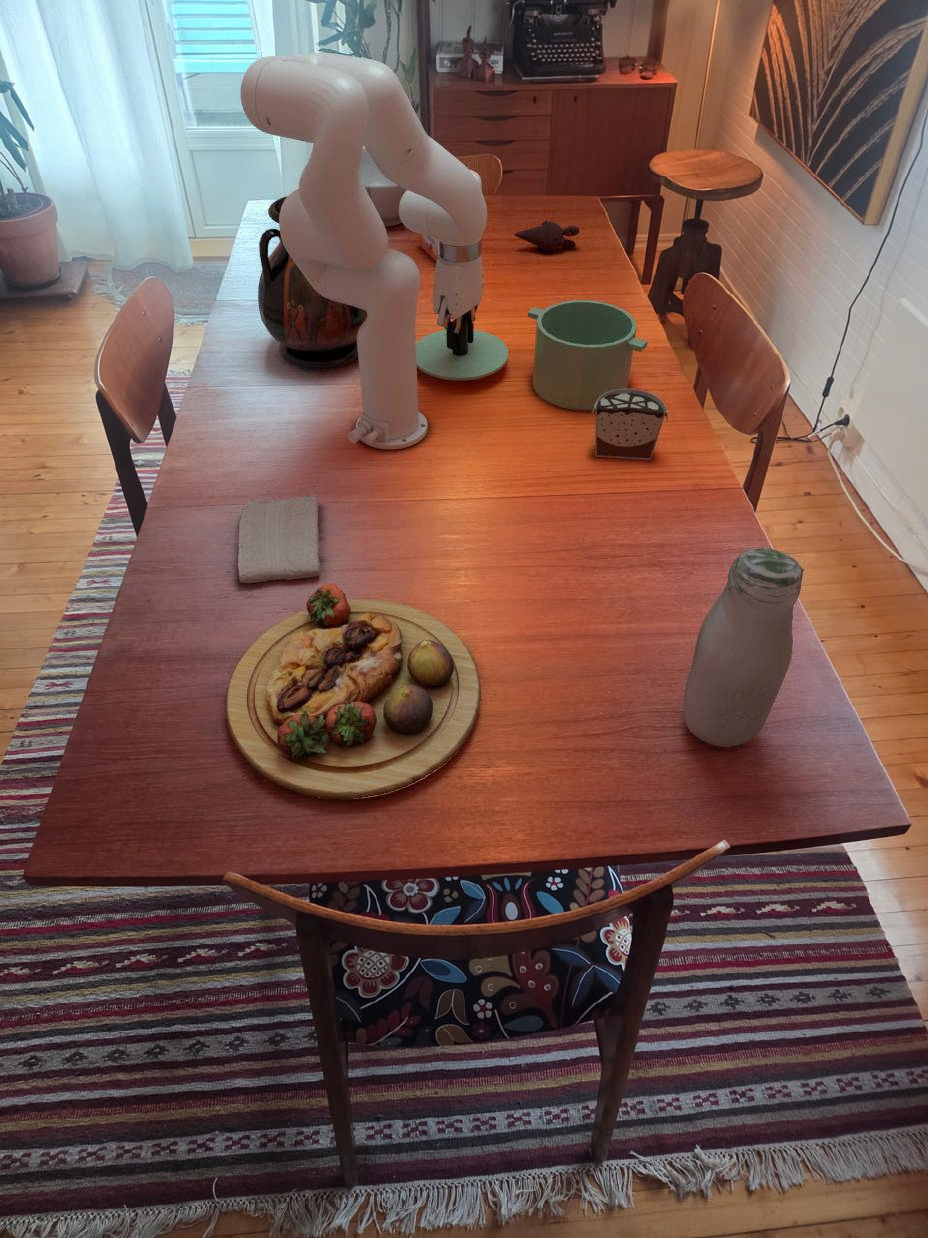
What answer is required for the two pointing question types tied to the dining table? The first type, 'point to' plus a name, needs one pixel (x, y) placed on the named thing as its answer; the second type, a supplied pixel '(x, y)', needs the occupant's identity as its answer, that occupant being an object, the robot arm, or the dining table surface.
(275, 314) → the amphora vase
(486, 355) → the lid
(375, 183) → the decorative bowl
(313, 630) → the wooden plate
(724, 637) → the glass bottle
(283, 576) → the washcloth
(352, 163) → the robot arm
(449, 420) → the dining table surface
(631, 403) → the food container
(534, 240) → the icecream
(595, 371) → the pot
